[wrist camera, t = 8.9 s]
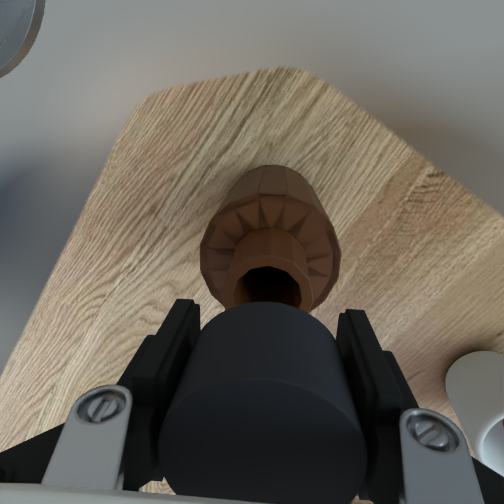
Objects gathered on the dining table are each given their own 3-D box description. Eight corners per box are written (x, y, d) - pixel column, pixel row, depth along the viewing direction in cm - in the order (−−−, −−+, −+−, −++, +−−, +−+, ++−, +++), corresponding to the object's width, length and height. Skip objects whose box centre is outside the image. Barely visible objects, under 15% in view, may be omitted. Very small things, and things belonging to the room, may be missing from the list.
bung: (176, 328, 12) (114, 451, 8) (272, 247, 11) (266, 336, 6) (263, 407, 13) (255, 559, 9) (361, 340, 12) (413, 478, 7)
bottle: (211, 206, 30) (144, 290, 15) (275, 145, 28) (273, 171, 13) (269, 266, 32) (262, 396, 17) (334, 212, 29) (393, 305, 14)
